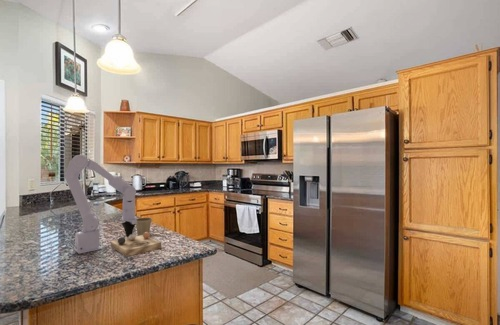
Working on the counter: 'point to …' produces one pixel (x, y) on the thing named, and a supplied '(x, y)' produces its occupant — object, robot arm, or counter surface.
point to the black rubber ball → (121, 240)
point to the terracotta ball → (146, 235)
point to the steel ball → (132, 236)
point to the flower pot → (143, 225)
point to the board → (136, 245)
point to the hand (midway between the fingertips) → (128, 236)
